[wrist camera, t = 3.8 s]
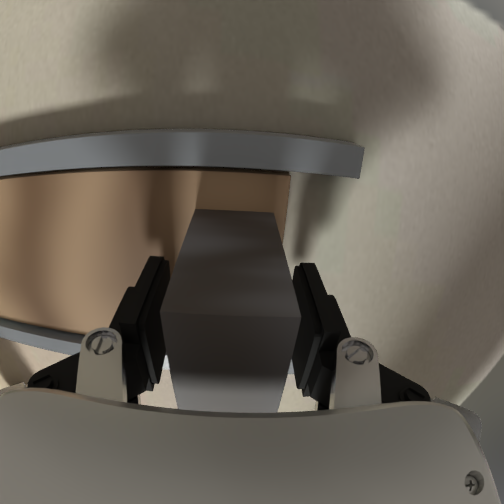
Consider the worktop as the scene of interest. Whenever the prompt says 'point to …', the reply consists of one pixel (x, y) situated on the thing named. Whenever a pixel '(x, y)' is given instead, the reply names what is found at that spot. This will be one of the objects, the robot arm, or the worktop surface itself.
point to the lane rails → (169, 154)
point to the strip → (180, 261)
